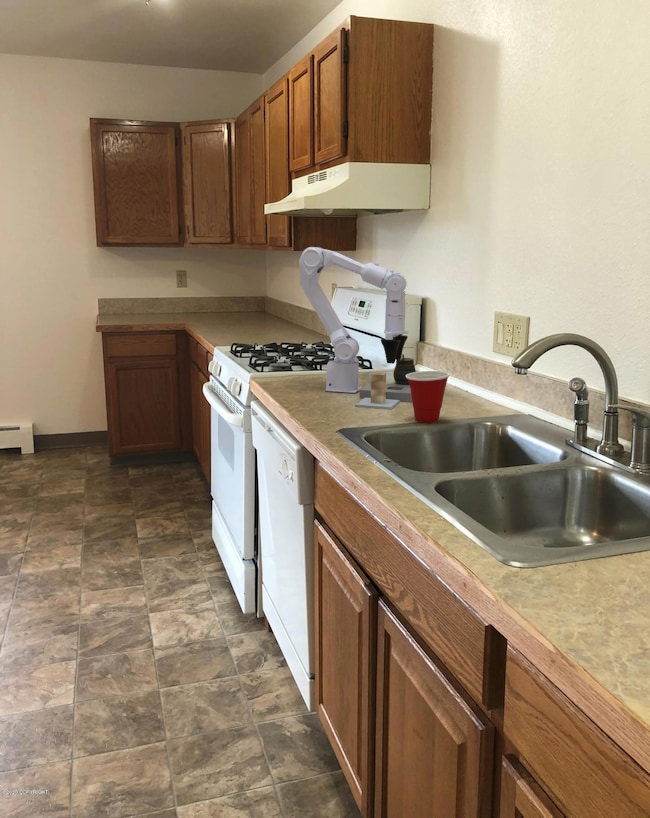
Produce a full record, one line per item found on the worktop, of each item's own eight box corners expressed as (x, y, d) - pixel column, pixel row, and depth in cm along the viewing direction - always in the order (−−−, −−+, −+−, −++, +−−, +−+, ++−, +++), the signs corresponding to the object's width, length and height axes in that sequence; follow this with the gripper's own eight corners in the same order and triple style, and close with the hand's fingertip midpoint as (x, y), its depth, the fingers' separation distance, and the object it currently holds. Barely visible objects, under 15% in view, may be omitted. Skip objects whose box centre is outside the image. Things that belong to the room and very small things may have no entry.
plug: (370, 403, 196) (371, 374, 194) (373, 400, 199) (374, 372, 197) (382, 403, 195) (383, 375, 193) (385, 401, 198) (386, 373, 196)
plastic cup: (399, 415, 184) (401, 369, 181) (440, 414, 185) (442, 369, 182) (409, 425, 173) (411, 377, 171) (452, 424, 175) (455, 376, 172)
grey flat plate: (359, 398, 205) (359, 389, 204) (370, 390, 216) (370, 382, 215) (421, 403, 199) (421, 394, 199) (429, 395, 210) (429, 386, 210)
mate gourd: (415, 381, 232) (416, 351, 230) (416, 385, 224) (417, 354, 222) (393, 381, 233) (394, 350, 230) (393, 385, 225) (393, 353, 223)
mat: (355, 406, 194) (355, 404, 194) (365, 399, 203) (365, 397, 203) (391, 409, 191) (391, 407, 191) (399, 402, 200) (399, 400, 200)
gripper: (403, 318, 201) (401, 365, 204) (413, 313, 214) (412, 358, 217) (378, 317, 203) (377, 364, 206) (390, 313, 216) (389, 357, 219)
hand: (393, 361), depth 212 cm, fingers open, 7 cm apart
